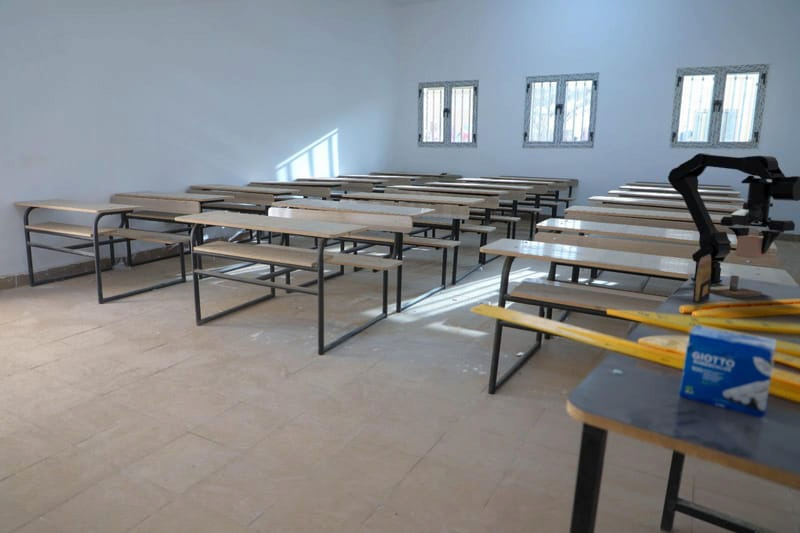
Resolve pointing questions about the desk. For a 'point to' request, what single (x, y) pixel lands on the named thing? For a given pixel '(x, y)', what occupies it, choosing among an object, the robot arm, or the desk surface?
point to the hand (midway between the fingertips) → (752, 252)
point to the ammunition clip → (703, 280)
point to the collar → (751, 247)
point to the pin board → (735, 293)
